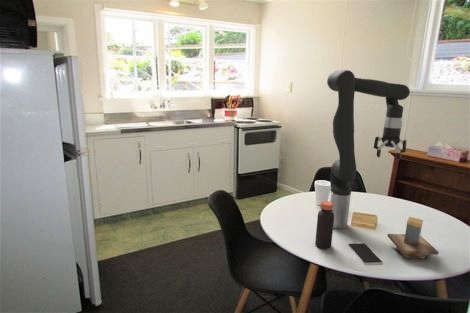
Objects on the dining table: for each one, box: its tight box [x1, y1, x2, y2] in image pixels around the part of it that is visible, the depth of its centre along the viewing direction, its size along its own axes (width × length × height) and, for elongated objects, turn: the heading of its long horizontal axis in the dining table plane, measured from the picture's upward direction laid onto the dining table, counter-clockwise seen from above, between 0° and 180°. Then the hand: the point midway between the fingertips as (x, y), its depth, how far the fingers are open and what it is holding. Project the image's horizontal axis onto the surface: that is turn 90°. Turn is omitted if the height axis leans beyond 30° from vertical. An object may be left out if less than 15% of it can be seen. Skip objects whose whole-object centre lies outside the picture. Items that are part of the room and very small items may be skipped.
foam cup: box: [314, 179, 331, 207], centre depth 180 cm, size 10×9×13 cm
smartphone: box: [347, 242, 383, 266], centre depth 129 cm, size 8×1×15 cm
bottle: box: [314, 200, 334, 250], centre depth 133 cm, size 7×7×20 cm
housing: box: [404, 216, 424, 246], centre depth 128 cm, size 5×5×10 cm
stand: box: [387, 233, 440, 259], centre depth 130 cm, size 14×14×5 cm
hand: (387, 158), depth 154 cm, fingers open, 8 cm apart
